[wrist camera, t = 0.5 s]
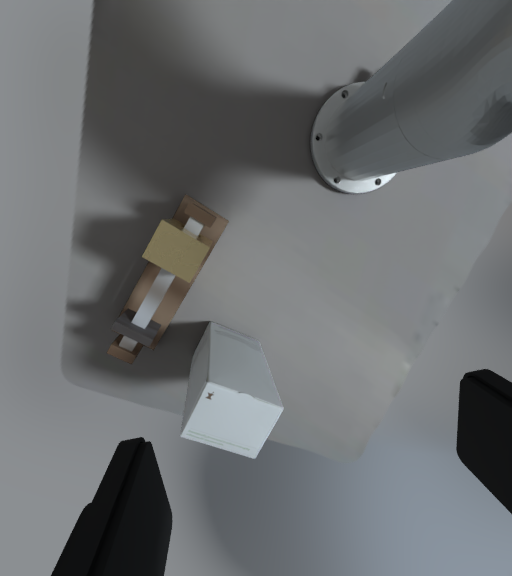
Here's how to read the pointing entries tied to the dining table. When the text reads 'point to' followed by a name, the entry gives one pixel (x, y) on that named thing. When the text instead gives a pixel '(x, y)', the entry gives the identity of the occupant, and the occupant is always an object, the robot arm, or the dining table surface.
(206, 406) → the skincare box
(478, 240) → the dining table surface
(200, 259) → the yellow rectangular block
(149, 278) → the rod stand
